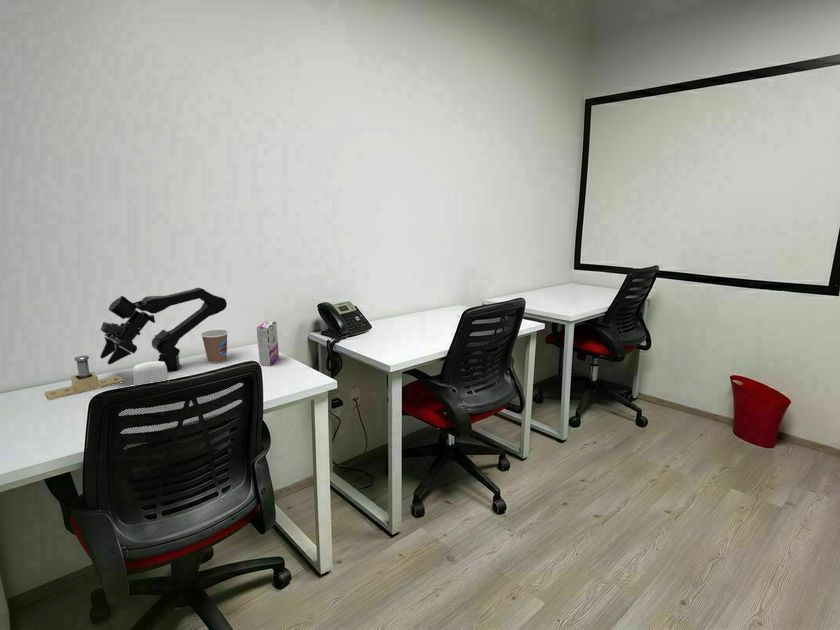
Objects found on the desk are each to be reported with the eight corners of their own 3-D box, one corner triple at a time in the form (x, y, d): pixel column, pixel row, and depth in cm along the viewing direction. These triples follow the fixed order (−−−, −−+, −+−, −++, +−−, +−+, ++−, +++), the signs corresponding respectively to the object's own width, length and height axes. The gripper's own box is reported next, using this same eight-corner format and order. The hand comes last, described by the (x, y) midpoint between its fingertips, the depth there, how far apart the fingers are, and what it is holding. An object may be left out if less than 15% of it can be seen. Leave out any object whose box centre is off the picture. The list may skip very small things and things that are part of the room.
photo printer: (169, 390, 171) (165, 357, 168) (170, 395, 168) (166, 361, 165) (135, 397, 166) (130, 362, 163) (136, 401, 162) (131, 366, 159)
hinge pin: (94, 385, 176) (89, 355, 173) (92, 389, 172) (87, 358, 169) (80, 386, 174) (75, 356, 171) (78, 390, 170) (73, 359, 167)
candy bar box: (267, 357, 208) (265, 320, 204) (279, 357, 208) (276, 320, 204) (258, 366, 197) (256, 327, 193) (271, 366, 197) (268, 327, 193)
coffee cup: (223, 364, 198) (221, 336, 195) (199, 364, 198) (196, 336, 196) (234, 356, 208) (232, 329, 205) (210, 356, 208) (208, 329, 206)
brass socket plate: (118, 377, 183) (117, 366, 182) (124, 382, 178) (122, 370, 177) (45, 394, 167) (42, 381, 166) (49, 399, 162) (46, 387, 161)
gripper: (106, 309, 181) (77, 344, 176) (122, 318, 169) (90, 355, 164) (133, 325, 189) (105, 359, 184) (149, 335, 176) (120, 371, 171)
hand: (104, 360), depth 176 cm, fingers open, 9 cm apart
